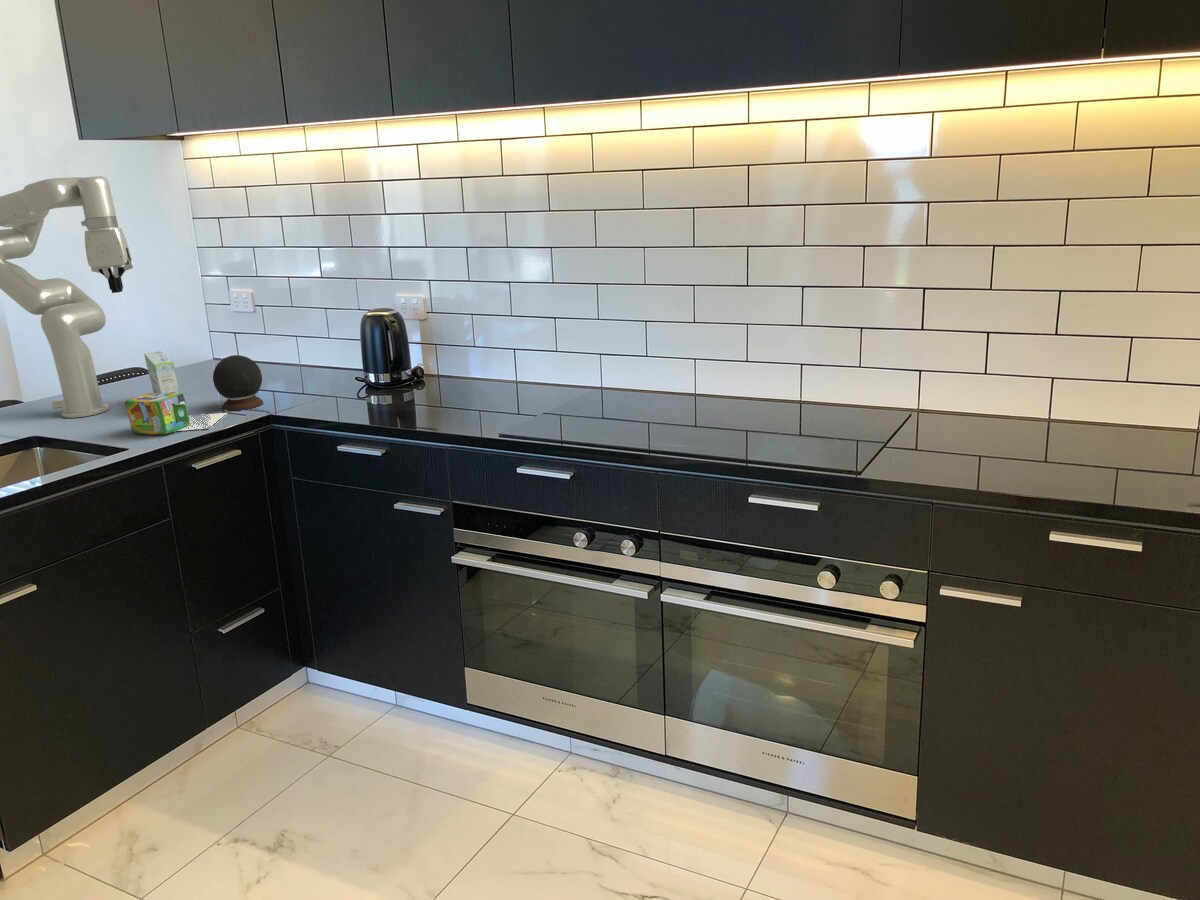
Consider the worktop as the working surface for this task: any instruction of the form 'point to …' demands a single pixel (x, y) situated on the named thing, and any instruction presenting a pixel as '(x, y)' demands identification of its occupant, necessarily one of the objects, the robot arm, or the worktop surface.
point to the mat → (213, 420)
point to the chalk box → (157, 413)
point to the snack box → (161, 373)
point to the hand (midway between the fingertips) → (117, 292)
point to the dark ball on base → (238, 382)
